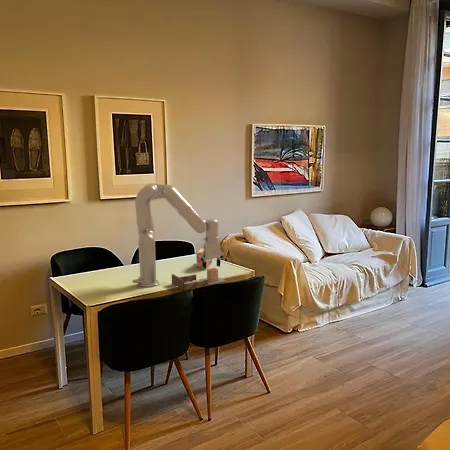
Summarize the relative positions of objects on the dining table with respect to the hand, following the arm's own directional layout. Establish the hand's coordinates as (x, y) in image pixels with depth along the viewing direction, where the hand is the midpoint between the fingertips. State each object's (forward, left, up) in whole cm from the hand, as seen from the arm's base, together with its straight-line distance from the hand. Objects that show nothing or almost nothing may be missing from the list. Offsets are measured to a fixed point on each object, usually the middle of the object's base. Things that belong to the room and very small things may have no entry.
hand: (211, 267), depth 281 cm
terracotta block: (+1, 0, -8) cm, 8 cm away
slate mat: (+1, 0, -9) cm, 9 cm away
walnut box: (-15, 0, -9) cm, 18 cm away
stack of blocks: (+14, +34, -9) cm, 38 cm away
